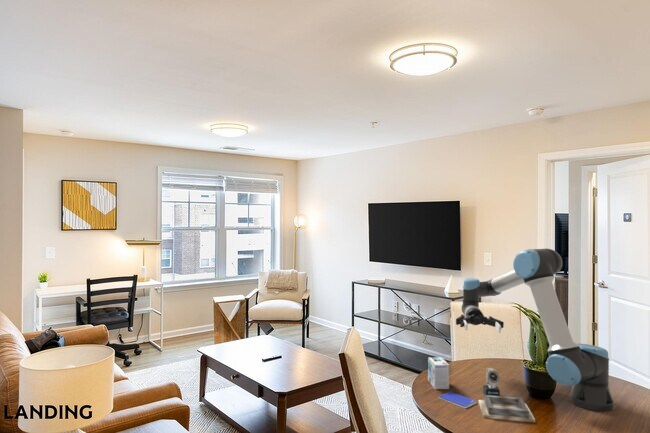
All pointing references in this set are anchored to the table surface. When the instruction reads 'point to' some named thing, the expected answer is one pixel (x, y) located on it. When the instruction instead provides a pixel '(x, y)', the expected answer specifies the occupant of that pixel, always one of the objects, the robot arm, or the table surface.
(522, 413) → the fitting base
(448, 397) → the hard drive
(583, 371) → the robot arm
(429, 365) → the light bulb box
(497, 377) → the watch
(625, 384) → the table surface
